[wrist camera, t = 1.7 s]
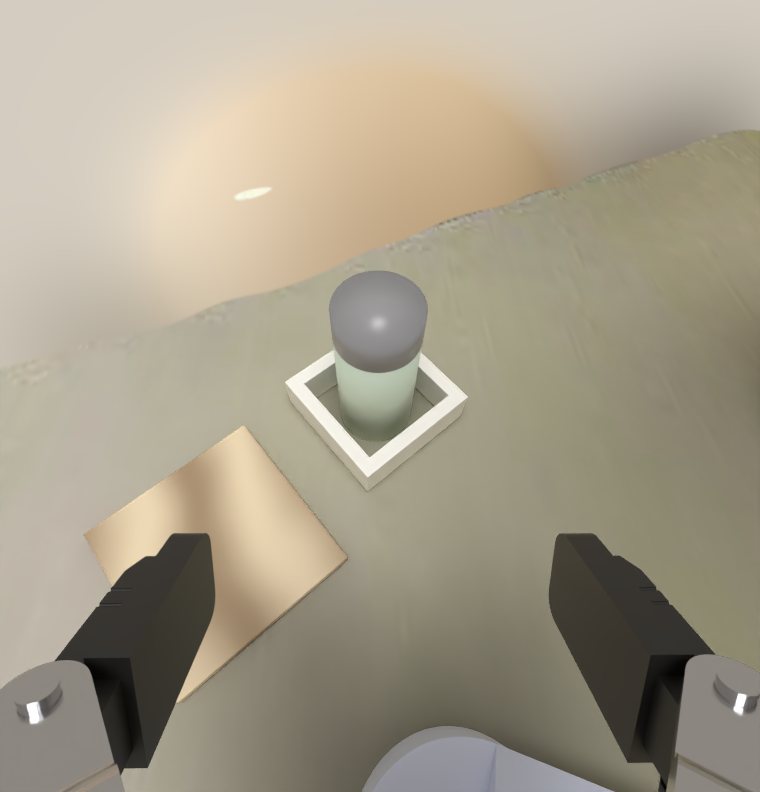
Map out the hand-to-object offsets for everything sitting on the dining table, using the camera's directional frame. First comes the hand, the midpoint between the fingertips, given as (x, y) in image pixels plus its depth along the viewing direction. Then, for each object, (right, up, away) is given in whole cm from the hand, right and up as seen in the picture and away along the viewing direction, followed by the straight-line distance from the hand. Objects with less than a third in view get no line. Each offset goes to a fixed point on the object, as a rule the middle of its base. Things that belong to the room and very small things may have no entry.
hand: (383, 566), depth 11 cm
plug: (0, +3, +19) cm, 19 cm away
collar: (0, +3, +19) cm, 19 cm away
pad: (-9, -4, +15) cm, 18 cm away
